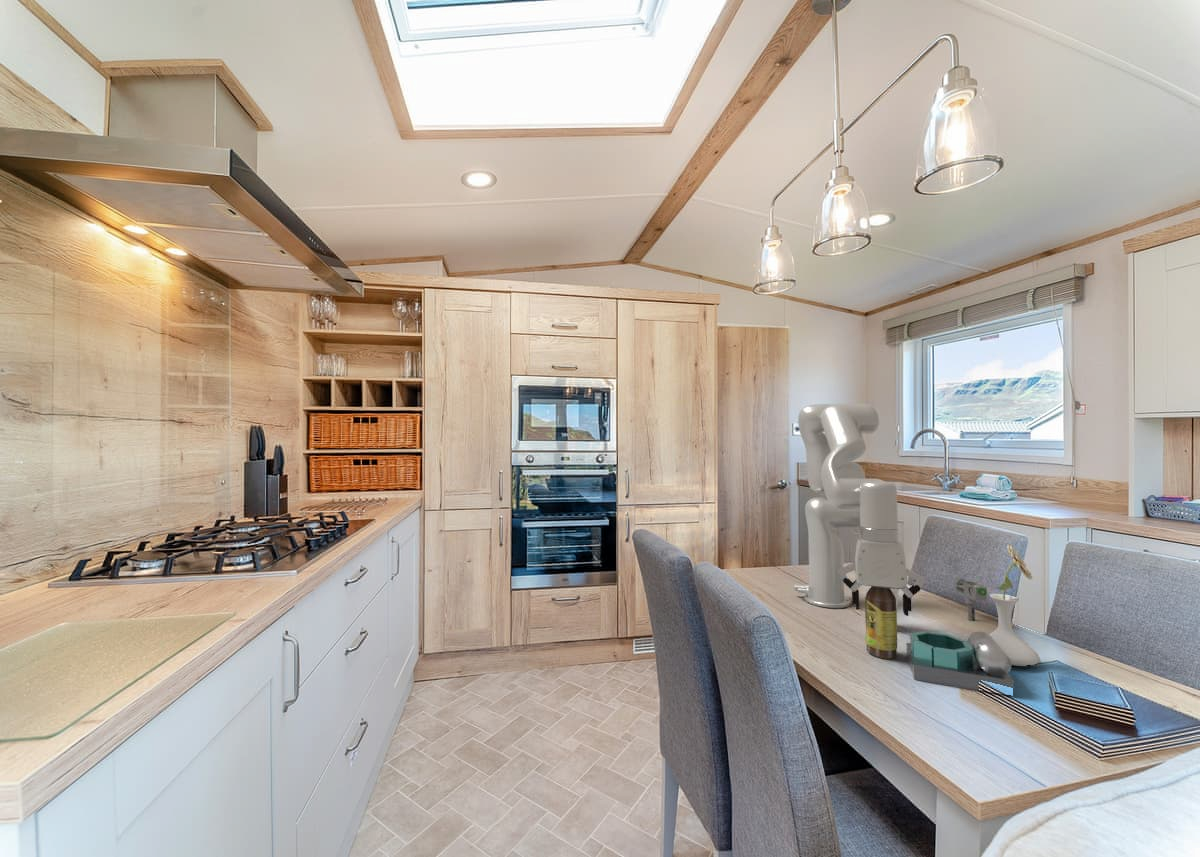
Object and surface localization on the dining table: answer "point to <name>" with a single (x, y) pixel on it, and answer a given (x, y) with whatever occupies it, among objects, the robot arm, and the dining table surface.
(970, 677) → the base
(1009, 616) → the flower in vase
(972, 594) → the mechanical component
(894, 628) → the sauce bottle
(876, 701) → the dining table surface
